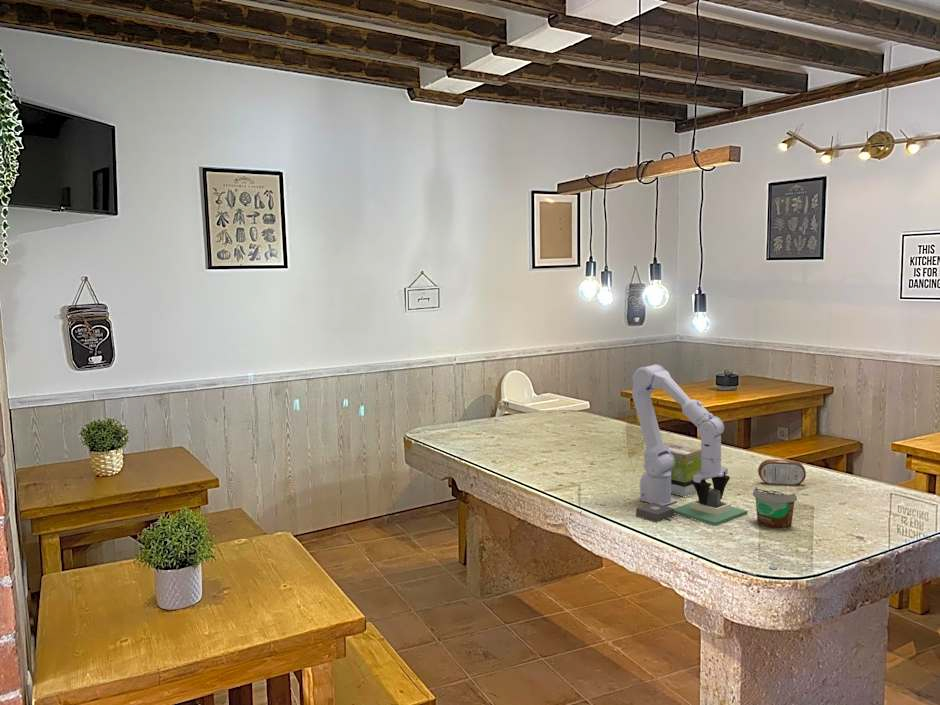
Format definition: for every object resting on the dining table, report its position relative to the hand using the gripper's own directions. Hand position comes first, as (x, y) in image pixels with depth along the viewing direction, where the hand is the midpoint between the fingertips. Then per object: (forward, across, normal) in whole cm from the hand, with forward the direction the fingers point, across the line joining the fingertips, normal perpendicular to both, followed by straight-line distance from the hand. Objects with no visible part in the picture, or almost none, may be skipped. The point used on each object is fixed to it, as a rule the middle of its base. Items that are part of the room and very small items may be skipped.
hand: (710, 501), depth 224 cm
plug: (+2, 0, 0) cm, 3 cm away
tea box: (+4, +11, +22) cm, 25 cm away
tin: (+4, +43, +2) cm, 43 cm away
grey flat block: (+4, -15, +8) cm, 17 cm away
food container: (+4, +3, -18) cm, 19 cm away
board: (+4, -1, 0) cm, 4 cm away
